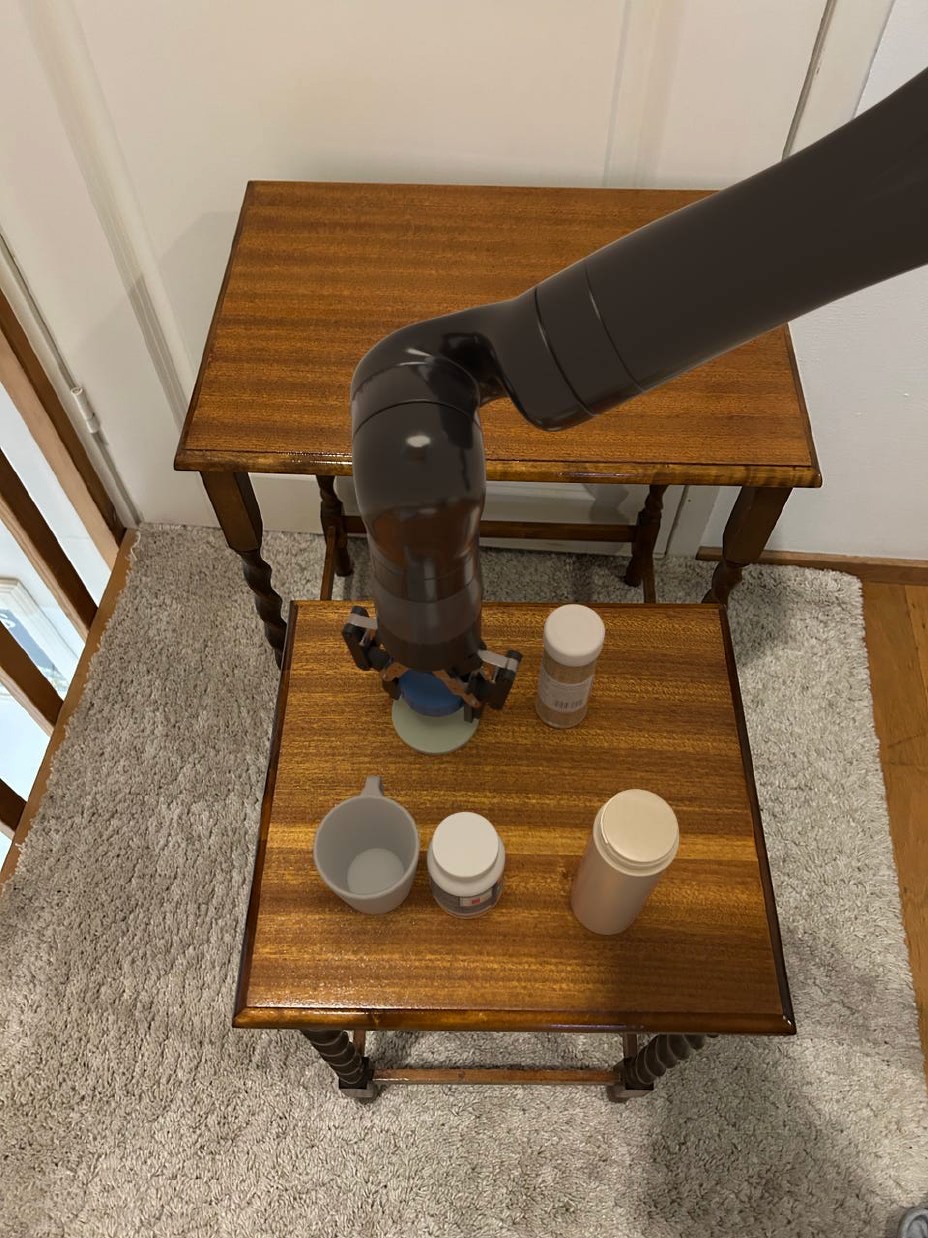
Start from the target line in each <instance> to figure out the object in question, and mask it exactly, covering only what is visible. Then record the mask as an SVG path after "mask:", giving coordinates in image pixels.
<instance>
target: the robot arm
mask: <svg viewBox="0 0 928 1238" xmlns="http://www.w3.org/2000/svg"><path fill="white" fill-rule="evenodd" d="M926 266H928V66H926V67H925V68H923V70H921V71H920V72H918V73H917V74H916V75H914V76H913V77H912V78H910V79H908V80H907V81H906V82H904V84H902V85H901V86H899V87H898V88H897V89H895V90H894V91H892V92H891V93H890V94H888V95H887V96H885V97H884V98H882V99H881V100H879V102H877V103H875V104H874V105H872V106H870V107H869V108H867V109H866V110H865V111H863V112H862V113H860V114H858V115H856V116H855V117H853V118H852V119H851V120H849V121H848V122H845V124H843V125H840V127H838V128H836V129H835V130H833V131H831V132H829V133H828V134H826V135H824V136H822V137H821V138H820V139H817V140H816V141H815V142H813V143H811V144H809V145H808V146H806V147H803V148H802V149H800V150H798V151H797V152H795V153H793V154H792V155H789V156H788V157H786V158H784V159H782V160H780V161H778V162H777V163H775V164H772V165H771V166H769V167H767V168H764V169H763V170H761V171H759V172H756V173H755V174H753V175H751V176H749V177H747V178H745V179H743V180H740V181H738V182H736V183H734V184H732V185H730V186H728V187H726V188H723V189H721V190H719V191H717V192H714V193H713V194H710V195H708V196H706V197H704V198H702V199H699V200H698V201H695V202H692V203H689V204H688V205H686V206H684V207H681V208H680V209H676V210H675V211H672V212H670V213H669V214H666V215H665V216H662V217H660V218H658V219H655V220H653V221H652V222H650V223H647V224H645V225H644V226H641V227H639V228H637V229H636V230H633V231H631V232H630V233H629V232H628V234H625V235H623V236H621V237H619V238H618V239H616V240H614V241H612V242H610V243H608V244H606V245H605V246H602V247H601V248H599V249H597V250H596V251H594V252H592V253H590V254H589V255H587V256H585V257H582V258H581V259H579V260H578V261H576V262H574V263H573V264H570V265H569V266H567V267H565V268H563V269H561V270H559V271H558V272H556V273H554V274H553V275H550V276H549V277H547V278H546V279H544V280H542V281H540V282H538V284H535V285H533V286H532V287H530V288H529V289H527V290H526V291H524V292H522V293H521V294H519V295H518V296H515V297H512V298H509V299H506V300H501V301H497V302H496V301H495V302H492V303H486V304H481V305H477V306H473V307H469V308H466V309H461V310H459V311H455V312H451V313H447V314H443V315H440V316H436V317H432V318H429V319H425V320H421V321H417V322H414V323H410V324H408V325H405V326H404V327H401V328H398V329H396V330H394V331H392V332H391V333H389V334H388V335H386V336H384V337H382V338H381V339H380V340H378V342H377V343H375V344H374V345H373V346H372V347H371V348H370V349H369V350H368V351H367V352H366V353H365V354H364V356H362V358H361V360H360V361H359V362H358V363H357V366H356V367H355V369H354V372H353V374H352V376H351V381H350V388H349V410H350V435H351V437H350V438H351V467H352V477H353V478H352V479H353V486H354V491H355V493H354V494H355V497H356V503H357V508H358V510H359V514H360V517H361V520H362V522H363V524H364V527H365V529H366V538H367V543H368V548H369V549H368V550H369V556H370V561H371V565H370V566H371V567H370V589H371V594H372V595H371V596H372V600H373V601H372V602H373V608H374V613H375V618H374V617H370V615H369V611H368V610H367V609H366V608H365V607H363V606H362V605H353V606H352V607H351V610H350V613H349V615H348V617H347V619H346V622H345V624H344V626H343V628H342V630H341V632H340V633H341V636H342V638H343V641H344V643H345V645H346V648H347V650H348V652H349V653H350V655H351V659H352V661H353V662H354V664H355V666H356V667H357V669H359V670H361V671H363V672H370V671H371V669H372V670H374V671H376V672H377V677H378V678H379V679H380V680H381V684H382V689H383V690H384V692H385V693H388V696H389V697H388V698H389V700H393V701H394V700H396V701H398V700H399V698H400V696H401V690H400V686H399V678H400V676H401V675H402V674H404V673H405V672H406V671H407V670H408V669H409V670H414V671H417V672H422V673H428V674H431V675H433V676H435V677H437V678H441V680H442V681H443V682H444V683H445V685H446V686H447V687H448V688H449V689H450V691H451V692H452V693H453V694H454V695H461V696H462V698H463V699H464V700H465V701H464V721H466V722H469V723H472V722H473V720H474V718H475V719H478V720H479V719H480V720H481V719H482V717H483V714H484V711H485V708H486V706H487V707H489V708H490V709H492V710H494V711H502V710H503V709H504V707H505V704H506V702H507V699H508V697H509V695H510V693H511V690H512V688H513V685H514V683H515V680H516V677H517V674H518V671H519V668H520V665H521V662H522V660H523V654H522V652H520V651H518V650H516V649H508V650H507V651H506V654H505V655H504V654H498V653H496V652H493V651H490V650H488V646H487V643H486V642H485V641H484V639H483V638H482V627H483V624H482V623H483V601H484V597H485V585H484V579H483V578H484V577H483V567H482V562H481V558H480V534H481V527H480V525H481V524H480V523H481V520H482V516H483V513H484V511H485V510H484V509H485V504H486V495H487V458H486V457H487V456H486V449H485V448H486V447H485V440H484V433H483V432H484V431H483V424H482V417H481V408H483V407H484V406H486V405H487V404H489V403H491V402H494V401H497V400H502V399H507V398H509V399H510V401H511V403H512V404H513V406H514V407H515V409H516V410H517V412H518V413H519V414H520V415H521V416H522V418H524V420H526V422H527V423H529V424H530V425H531V426H533V427H534V428H536V429H537V430H540V431H543V432H546V433H558V432H563V431H566V430H568V429H572V428H574V427H577V426H579V425H580V424H584V423H586V422H587V421H590V420H592V419H594V418H596V417H598V416H599V415H602V414H605V413H606V412H609V411H611V410H613V409H615V408H617V407H619V406H621V405H624V404H626V403H628V402H630V401H632V400H634V399H636V398H638V397H640V396H642V395H644V394H647V393H648V392H651V391H653V390H655V389H656V388H659V387H660V386H663V385H666V384H667V383H669V382H672V381H673V380H675V379H677V378H679V377H681V376H683V375H685V374H687V373H689V372H691V371H693V370H695V369H697V368H699V367H701V366H703V365H705V364H707V363H709V362H711V361H713V360H715V359H717V358H719V357H721V356H723V355H725V354H727V353H729V352H731V351H733V350H734V349H738V348H739V347H741V346H744V345H745V344H747V343H749V342H751V341H753V340H755V339H758V338H759V337H761V336H763V335H766V334H767V333H769V332H771V331H773V330H776V329H778V328H780V327H781V326H784V325H787V323H790V322H792V321H794V320H796V319H799V318H800V317H803V316H805V315H807V314H809V313H812V312H813V311H816V310H818V309H820V308H823V307H826V306H827V305H829V304H831V303H833V302H836V301H839V300H841V299H844V298H846V297H849V296H850V295H853V294H855V293H858V292H860V291H863V290H865V289H868V288H870V287H873V286H876V285H878V284H881V283H883V282H886V281H888V280H891V279H894V278H895V277H898V276H901V275H903V274H906V273H909V272H912V271H914V270H917V269H919V268H922V267H926ZM381 646H382V647H383V648H381ZM482 667H483V668H485V669H487V671H488V674H486V672H485V670H484V669H483V668H482ZM488 675H489V676H490V677H491V678H490V677H489V676H488Z"/></svg>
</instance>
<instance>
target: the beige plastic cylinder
mask: <svg viewBox="0 0 928 1238" xmlns="http://www.w3.org/2000/svg"><path fill="white" fill-rule="evenodd" d="M679 847H680V827H679V824H678V819H677V815H675V812H674V810H673V808H672V807H671V806H670V805H669V803H667V801H666V800H665V799H663V798H662V797H660V796H659V795H658V794H656V793H654V792H651V791H649V790H644V789H639V788H635V789H626V790H623V791H621V792H618V793H616V794H615V795H613V797H611V798H610V799H608V800H607V801H605V802H604V804H603V805H602V806H601V807H600V808H599V810H598V811H597V813H596V815H595V818H594V821H593V823H592V827H591V828H590V832H589V834H588V838H587V841H586V844H585V847H584V850H583V852H582V855H581V857H580V858H581V859H580V861H579V863H578V867H577V870H576V872H575V876H574V878H573V881H572V885H571V887H570V891H569V903H570V906H571V910H572V913H573V914H574V917H575V918H576V919H577V920H578V922H579V923H580V924H581V925H582V926H583V927H584V928H586V929H587V930H588V931H590V932H593V933H595V934H598V935H603V936H613V935H617V934H620V933H623V932H625V931H627V929H629V928H630V927H631V926H632V925H633V924H634V923H635V921H636V919H637V918H638V917H639V914H640V913H641V912H642V910H643V908H644V907H645V905H646V904H647V902H648V900H649V899H650V897H651V895H653V892H654V891H655V890H656V888H657V886H658V885H659V883H660V881H661V880H662V878H663V877H664V875H665V874H666V872H667V870H668V869H669V868H670V865H671V864H672V863H673V861H674V860H675V858H676V856H677V853H678V850H679Z"/></svg>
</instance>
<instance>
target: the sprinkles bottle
mask: <svg viewBox="0 0 928 1238" xmlns="http://www.w3.org/2000/svg"><path fill="white" fill-rule="evenodd" d="M605 637H606V629H605V624H604V621H603V620H602V617H600V615H599V614H598V613H597V612H596V611H595V610H593V609H591V608H589V607H588V606H586V605H581V604H577V603H576V604H574V603H573V604H572V603H571V604H566V605H562V606H559V607H557V608H555V609H554V610H553V611H552V612H551V613H550V614H549V615H548V616H547V617H546V620H545V622H544V625H543V632H542V644H543V652H542V655H541V662H540V670H539V677H538V683H537V694H536V698H535V703H534V705H535V710H536V714H537V715H538V717H539V719H540V720H541V721H542V722H543V723H544V724H546V725H548V726H549V727H551V728H555V729H563V730H566V729H570V728H573V727H575V726H577V725H578V724H580V723H581V722H582V721H583V719H585V717H586V715H587V712H588V707H589V705H588V702H589V698H590V695H591V692H592V689H593V685H594V681H595V672H596V667H597V663H598V658H599V656H600V654H601V653H602V650H603V647H604V643H605Z"/></svg>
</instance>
